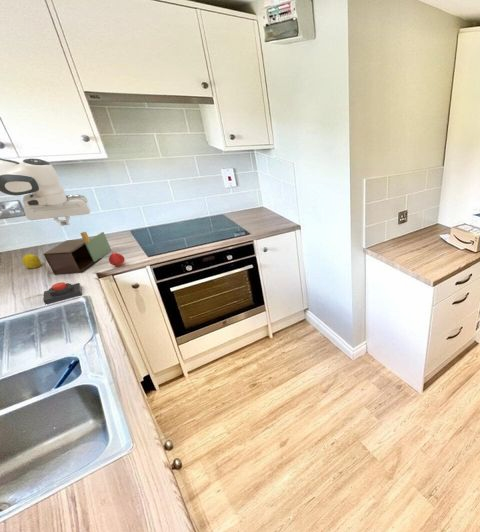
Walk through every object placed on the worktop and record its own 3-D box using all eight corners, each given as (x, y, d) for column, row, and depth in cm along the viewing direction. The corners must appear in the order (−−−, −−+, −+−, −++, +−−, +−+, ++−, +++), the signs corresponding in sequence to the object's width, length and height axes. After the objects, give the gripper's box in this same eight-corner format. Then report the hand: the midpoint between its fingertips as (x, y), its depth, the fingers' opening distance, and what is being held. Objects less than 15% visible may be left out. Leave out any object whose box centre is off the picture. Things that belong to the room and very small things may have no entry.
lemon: (31, 267, 156) (22, 252, 152) (46, 265, 158) (38, 250, 154) (25, 272, 152) (16, 257, 148) (40, 270, 153) (32, 255, 150)
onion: (112, 270, 155) (105, 255, 152) (111, 266, 159) (105, 251, 155) (127, 266, 159) (121, 252, 155) (126, 262, 162) (120, 248, 159)
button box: (45, 305, 129) (40, 296, 127) (46, 295, 135) (41, 287, 133) (82, 295, 135) (78, 287, 134) (81, 287, 141) (77, 279, 139)
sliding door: (96, 261, 161) (83, 233, 154) (93, 262, 161) (79, 233, 154) (113, 249, 174) (101, 222, 167) (110, 249, 174) (98, 223, 167)
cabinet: (82, 272, 152) (72, 251, 147) (54, 274, 150) (43, 253, 145) (102, 258, 166) (93, 238, 161) (76, 260, 164) (66, 240, 159)
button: (53, 291, 131) (51, 288, 130) (53, 288, 133) (51, 284, 133) (66, 288, 133) (65, 284, 132) (66, 284, 136) (65, 281, 135)
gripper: (84, 191, 147) (94, 217, 155) (18, 196, 135) (33, 225, 142) (85, 197, 143) (95, 224, 151) (17, 203, 131) (33, 231, 139)
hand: (65, 224), depth 147 cm, fingers closed
